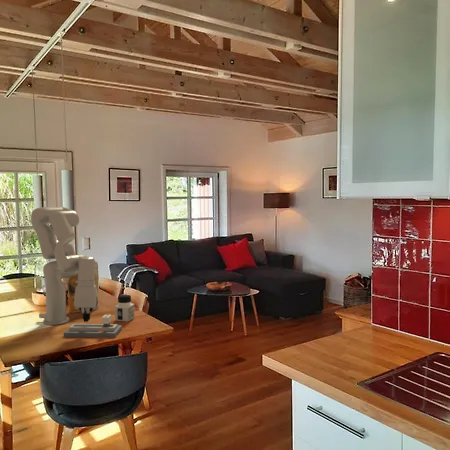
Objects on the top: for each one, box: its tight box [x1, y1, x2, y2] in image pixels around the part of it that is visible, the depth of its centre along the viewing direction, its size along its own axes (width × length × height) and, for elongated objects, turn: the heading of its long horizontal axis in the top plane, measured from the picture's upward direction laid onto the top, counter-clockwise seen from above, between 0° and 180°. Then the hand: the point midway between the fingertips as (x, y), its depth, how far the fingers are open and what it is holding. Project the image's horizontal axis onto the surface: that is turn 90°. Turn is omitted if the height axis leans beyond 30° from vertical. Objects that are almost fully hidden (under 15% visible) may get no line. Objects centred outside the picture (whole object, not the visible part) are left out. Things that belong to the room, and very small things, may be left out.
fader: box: [101, 314, 112, 327], centre depth 200 cm, size 3×5×6 cm, turn 179°
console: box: [63, 323, 123, 338], centre depth 200 cm, size 24×12×4 cm, turn 89°
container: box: [114, 293, 135, 322], centre depth 223 cm, size 8×8×13 cm
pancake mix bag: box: [65, 261, 100, 314], centre depth 238 cm, size 7×19×28 cm, turn 123°
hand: (86, 320), depth 200 cm, fingers closed
